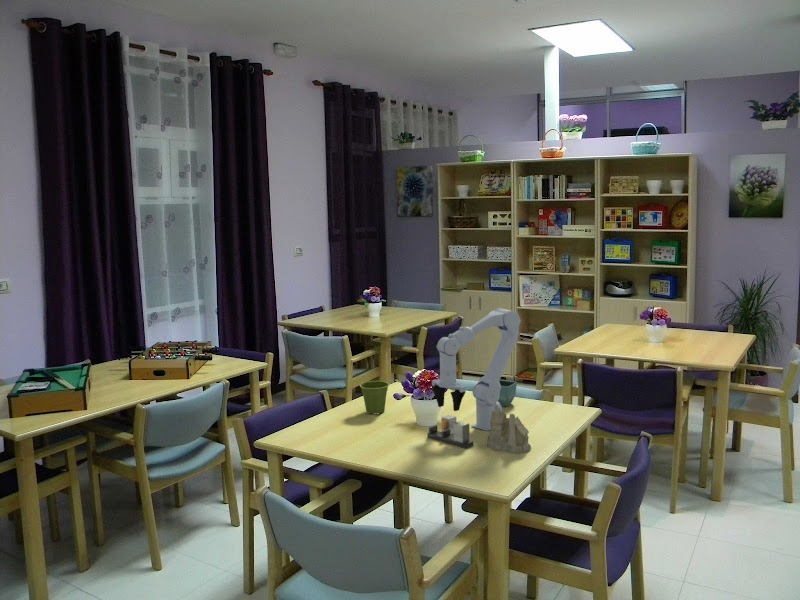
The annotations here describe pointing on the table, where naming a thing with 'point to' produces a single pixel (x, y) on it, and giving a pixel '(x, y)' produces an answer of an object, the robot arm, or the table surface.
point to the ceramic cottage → (507, 434)
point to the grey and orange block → (448, 423)
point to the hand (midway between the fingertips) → (448, 408)
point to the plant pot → (374, 395)
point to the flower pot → (507, 392)
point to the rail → (447, 437)
